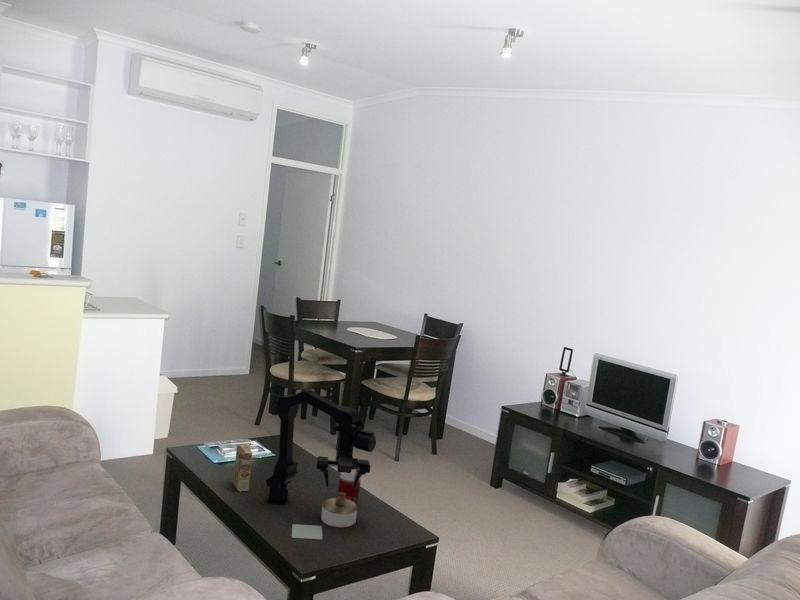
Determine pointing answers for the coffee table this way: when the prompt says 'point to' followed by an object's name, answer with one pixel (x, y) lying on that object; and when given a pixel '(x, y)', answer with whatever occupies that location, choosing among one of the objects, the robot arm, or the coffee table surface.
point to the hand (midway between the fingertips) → (340, 487)
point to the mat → (306, 531)
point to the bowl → (338, 518)
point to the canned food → (349, 487)
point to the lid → (339, 504)
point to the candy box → (242, 468)
